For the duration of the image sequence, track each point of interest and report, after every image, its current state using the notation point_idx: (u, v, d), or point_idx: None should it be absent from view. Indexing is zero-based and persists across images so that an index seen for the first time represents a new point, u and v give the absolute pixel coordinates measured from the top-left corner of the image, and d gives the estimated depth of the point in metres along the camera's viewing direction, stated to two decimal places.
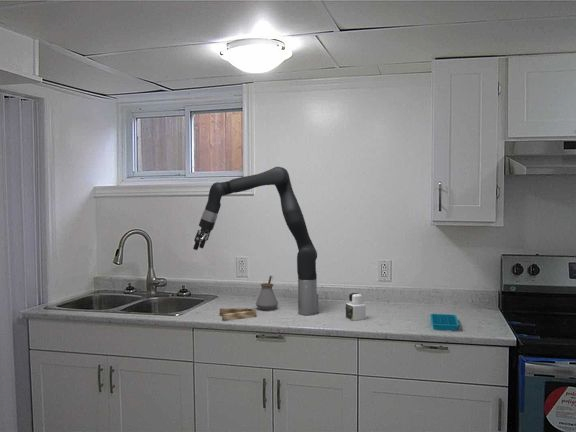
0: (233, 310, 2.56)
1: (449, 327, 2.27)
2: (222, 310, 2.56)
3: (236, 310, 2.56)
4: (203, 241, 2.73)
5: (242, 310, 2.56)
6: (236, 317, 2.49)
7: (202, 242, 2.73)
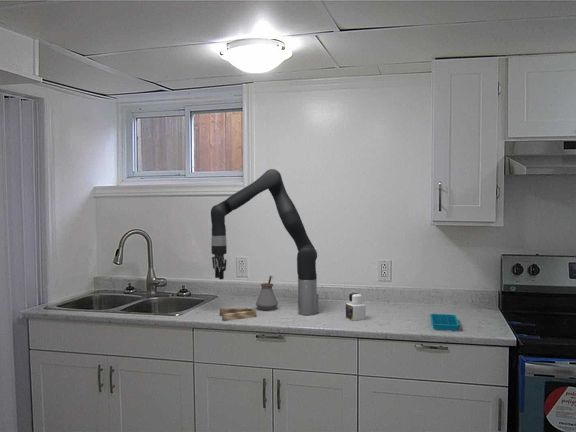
0: (233, 310, 2.56)
1: (449, 327, 2.27)
2: (222, 310, 2.56)
3: (236, 310, 2.56)
4: (217, 270, 2.64)
5: (242, 310, 2.56)
6: (236, 317, 2.49)
7: (217, 271, 2.64)
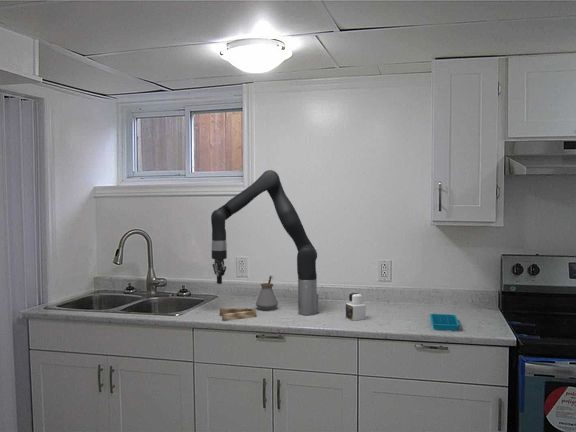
0: (233, 310, 2.56)
1: (449, 327, 2.27)
2: (222, 310, 2.56)
3: (236, 310, 2.56)
4: None
5: (242, 310, 2.56)
6: (236, 317, 2.49)
7: None
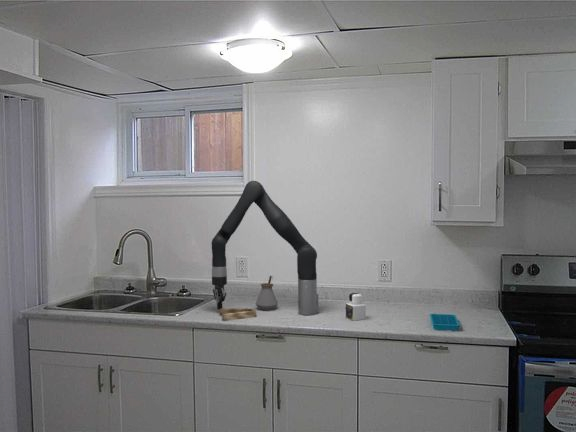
0: (233, 310, 2.56)
1: (449, 327, 2.27)
2: (222, 310, 2.56)
3: (236, 310, 2.56)
4: None
5: (242, 310, 2.56)
6: (236, 317, 2.49)
7: None
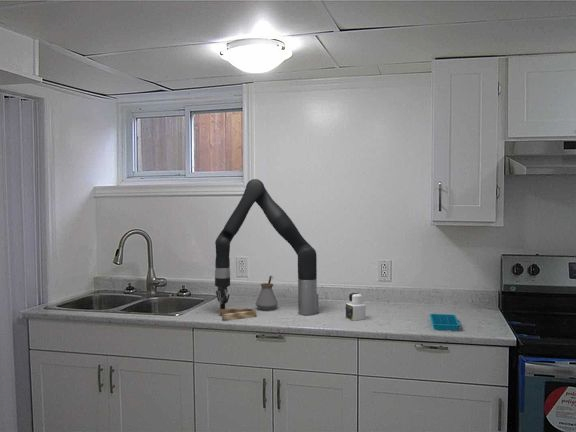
0: (233, 310, 2.56)
1: (450, 327, 2.27)
2: (222, 310, 2.56)
3: (236, 310, 2.56)
4: None
5: (242, 310, 2.56)
6: (236, 317, 2.49)
7: None
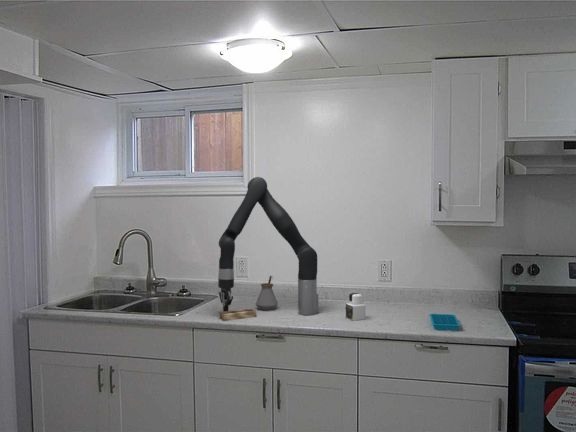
0: (234, 312, 2.52)
1: (450, 327, 2.27)
2: (223, 313, 2.50)
3: None
4: None
5: (242, 311, 2.54)
6: (236, 317, 2.49)
7: None
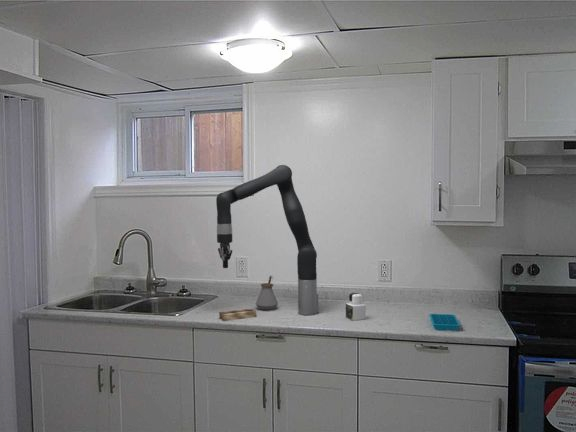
0: (234, 312, 2.52)
1: (450, 327, 2.27)
2: (223, 313, 2.50)
3: None
4: None
5: (242, 311, 2.54)
6: (236, 317, 2.49)
7: None
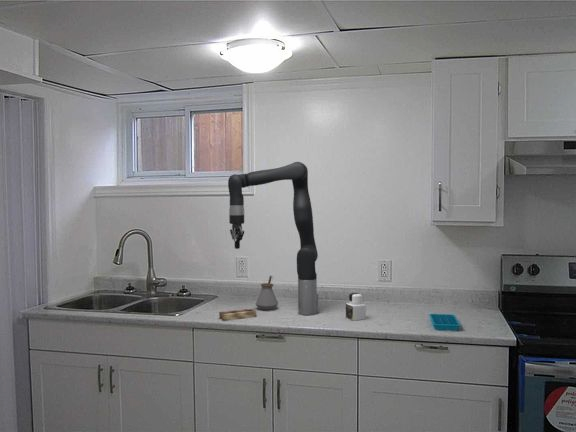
0: (234, 312, 2.52)
1: (450, 327, 2.27)
2: (223, 313, 2.50)
3: None
4: None
5: (242, 311, 2.54)
6: (236, 317, 2.49)
7: None
